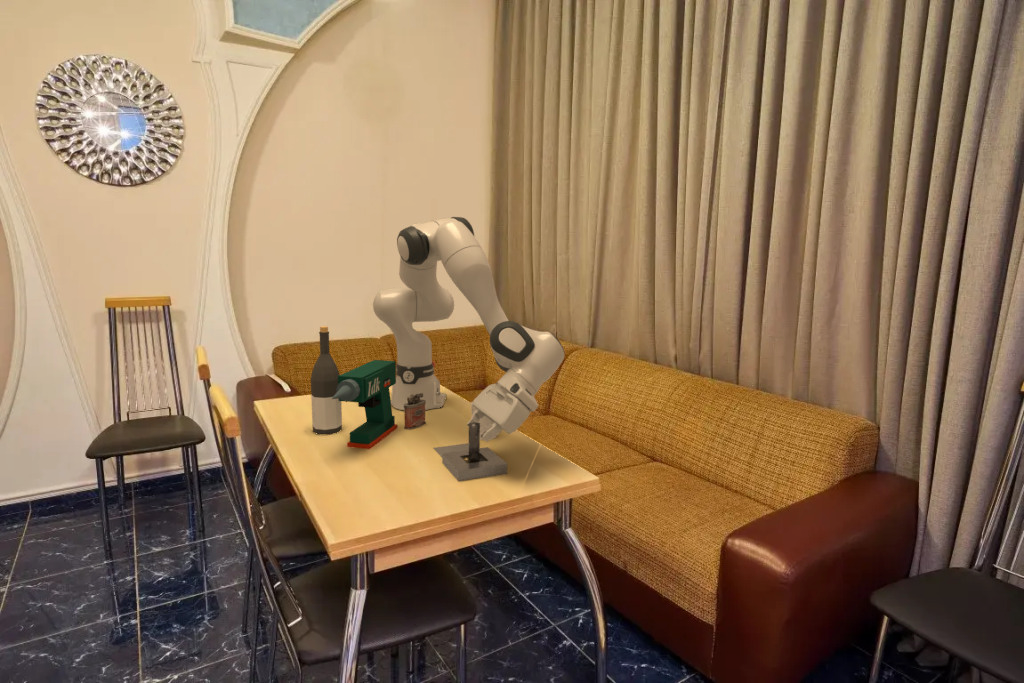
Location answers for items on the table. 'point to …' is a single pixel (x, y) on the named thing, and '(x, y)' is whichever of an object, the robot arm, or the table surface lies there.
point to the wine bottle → (325, 390)
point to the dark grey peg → (474, 442)
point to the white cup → (483, 423)
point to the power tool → (369, 400)
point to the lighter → (414, 411)
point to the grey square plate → (451, 448)
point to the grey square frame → (474, 464)
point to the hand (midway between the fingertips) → (476, 433)
